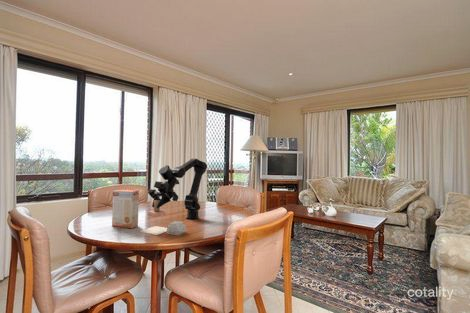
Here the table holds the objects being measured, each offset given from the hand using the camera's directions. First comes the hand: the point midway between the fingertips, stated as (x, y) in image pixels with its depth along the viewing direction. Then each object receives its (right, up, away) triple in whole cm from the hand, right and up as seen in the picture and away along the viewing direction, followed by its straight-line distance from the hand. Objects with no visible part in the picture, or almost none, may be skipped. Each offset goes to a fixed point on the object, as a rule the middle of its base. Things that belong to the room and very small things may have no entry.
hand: (155, 207), depth 136 cm
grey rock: (+12, -13, -2) cm, 18 cm away
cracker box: (-20, -13, +9) cm, 26 cm away
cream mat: (0, -13, +1) cm, 13 cm away
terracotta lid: (+1, -5, +1) cm, 5 cm away
